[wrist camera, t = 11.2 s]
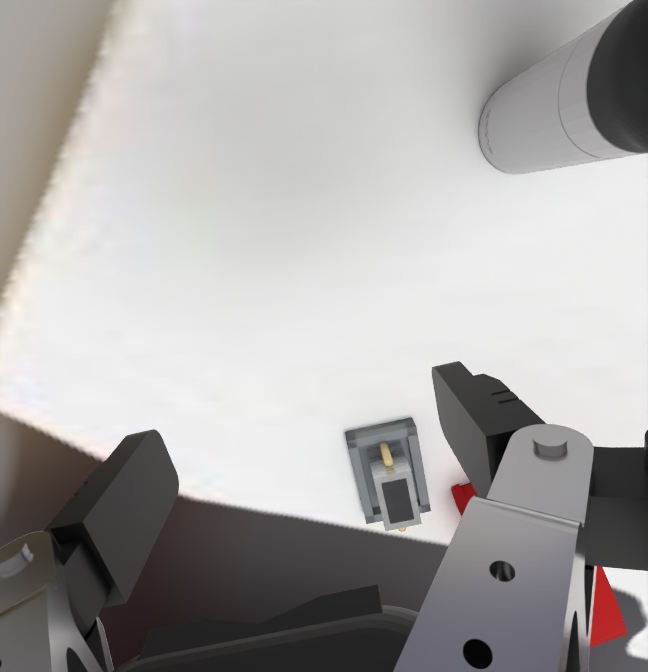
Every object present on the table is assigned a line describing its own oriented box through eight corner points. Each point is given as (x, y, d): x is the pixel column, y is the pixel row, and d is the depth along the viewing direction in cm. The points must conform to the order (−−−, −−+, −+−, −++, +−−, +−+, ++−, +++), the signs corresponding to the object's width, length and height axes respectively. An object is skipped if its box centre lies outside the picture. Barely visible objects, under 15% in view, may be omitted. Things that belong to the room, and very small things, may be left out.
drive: (400, 441, 52) (411, 470, 46) (410, 490, 54) (421, 524, 49) (366, 448, 52) (373, 478, 46) (378, 497, 55) (385, 531, 49)
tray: (411, 417, 52) (423, 442, 46) (426, 499, 56) (438, 531, 50) (345, 431, 52) (349, 458, 47) (364, 512, 56) (370, 545, 51)
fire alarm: (447, 488, 55) (494, 585, 41) (520, 456, 54) (594, 544, 40) (488, 566, 60) (543, 677, 46) (556, 538, 59) (634, 644, 44)
